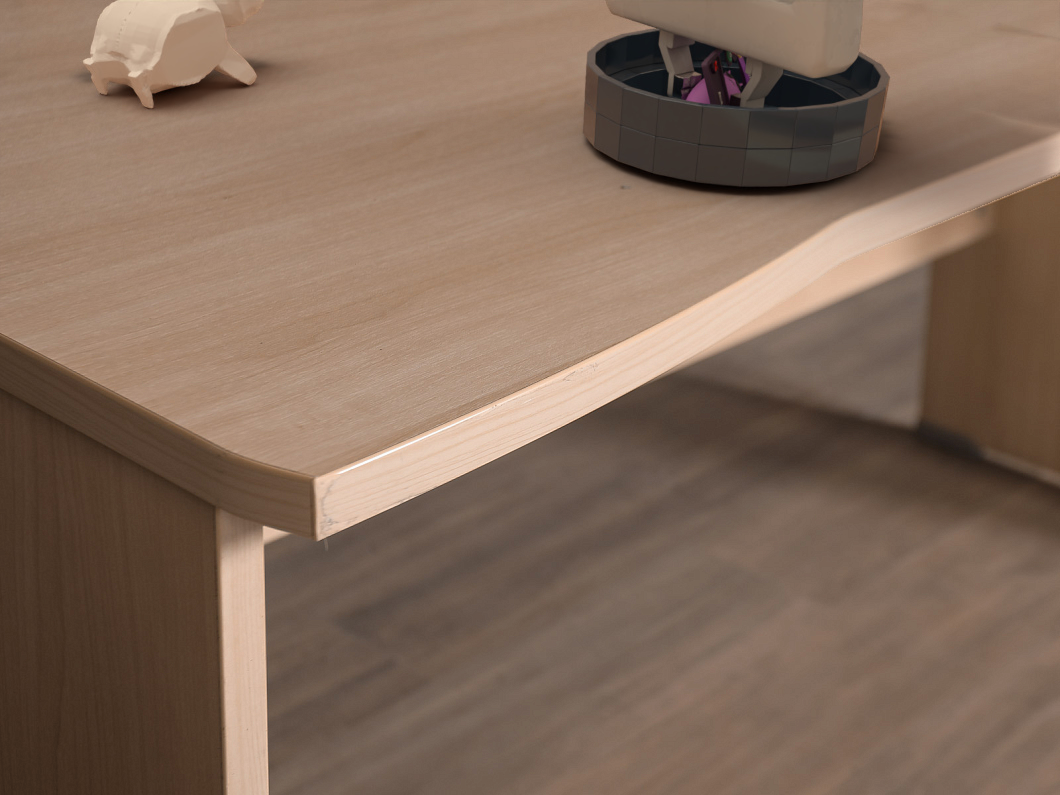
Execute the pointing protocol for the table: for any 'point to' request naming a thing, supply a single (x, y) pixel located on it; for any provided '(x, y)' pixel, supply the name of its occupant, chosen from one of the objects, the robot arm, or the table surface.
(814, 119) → the bowl
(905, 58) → the table surface
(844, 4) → the robot arm
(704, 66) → the pink bumpy toy
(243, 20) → the white animal figurine
